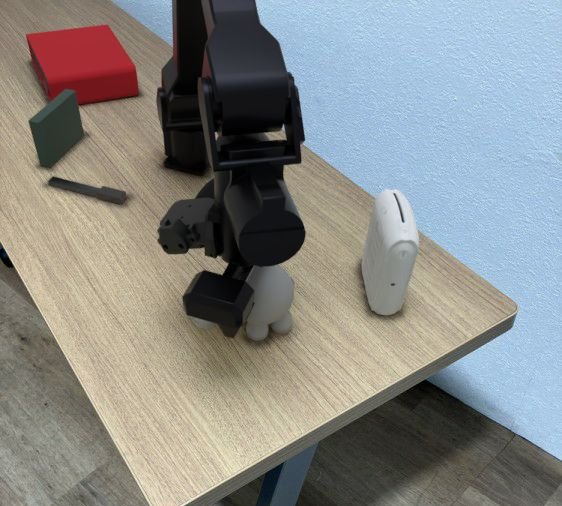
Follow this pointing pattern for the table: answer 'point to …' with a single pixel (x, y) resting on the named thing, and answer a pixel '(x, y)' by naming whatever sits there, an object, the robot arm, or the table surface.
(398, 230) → the photo printer
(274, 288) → the chubby cartoon animal
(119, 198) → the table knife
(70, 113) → the backboard
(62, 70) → the audio interface
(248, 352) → the table surface
